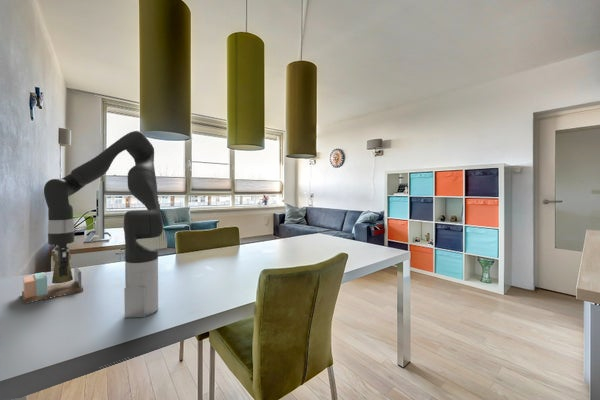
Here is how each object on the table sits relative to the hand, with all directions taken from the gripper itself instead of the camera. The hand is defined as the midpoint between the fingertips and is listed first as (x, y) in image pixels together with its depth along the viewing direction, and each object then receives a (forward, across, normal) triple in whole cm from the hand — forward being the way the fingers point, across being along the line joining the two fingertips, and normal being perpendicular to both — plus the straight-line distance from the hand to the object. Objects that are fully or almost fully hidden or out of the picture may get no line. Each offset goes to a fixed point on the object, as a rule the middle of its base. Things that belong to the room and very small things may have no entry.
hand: (62, 274), depth 102 cm
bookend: (+5, 0, -5) cm, 7 cm away
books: (+5, 0, +7) cm, 9 cm away
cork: (+2, 0, 0) cm, 2 cm away
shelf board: (+6, 0, +3) cm, 7 cm away
